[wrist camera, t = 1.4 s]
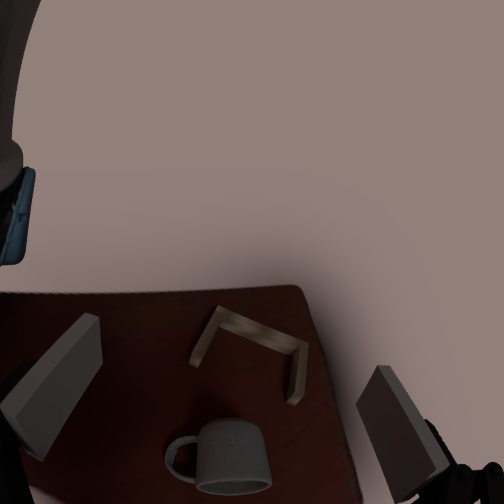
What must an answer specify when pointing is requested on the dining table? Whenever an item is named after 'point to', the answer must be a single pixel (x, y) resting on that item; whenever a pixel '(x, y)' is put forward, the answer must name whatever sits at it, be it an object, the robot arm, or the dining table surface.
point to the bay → (261, 336)
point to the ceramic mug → (226, 458)
